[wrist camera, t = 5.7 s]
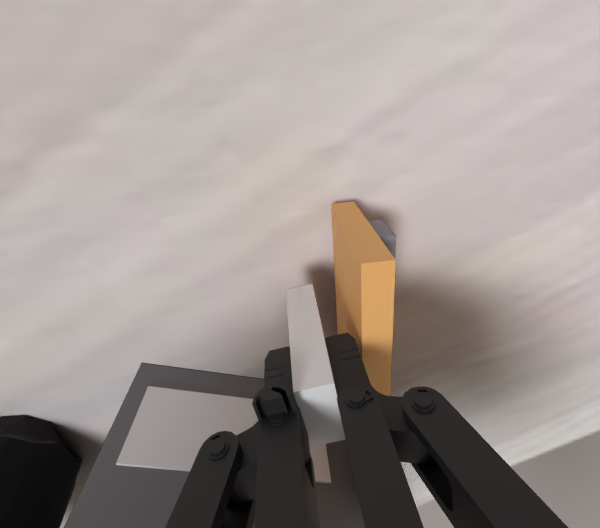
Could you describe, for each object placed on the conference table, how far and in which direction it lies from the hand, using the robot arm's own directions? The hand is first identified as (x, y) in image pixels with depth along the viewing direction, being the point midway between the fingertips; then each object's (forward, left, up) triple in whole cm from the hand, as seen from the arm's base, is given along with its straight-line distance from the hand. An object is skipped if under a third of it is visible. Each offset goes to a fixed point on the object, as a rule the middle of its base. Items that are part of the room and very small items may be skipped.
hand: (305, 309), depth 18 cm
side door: (+4, -2, -3) cm, 5 cm away
